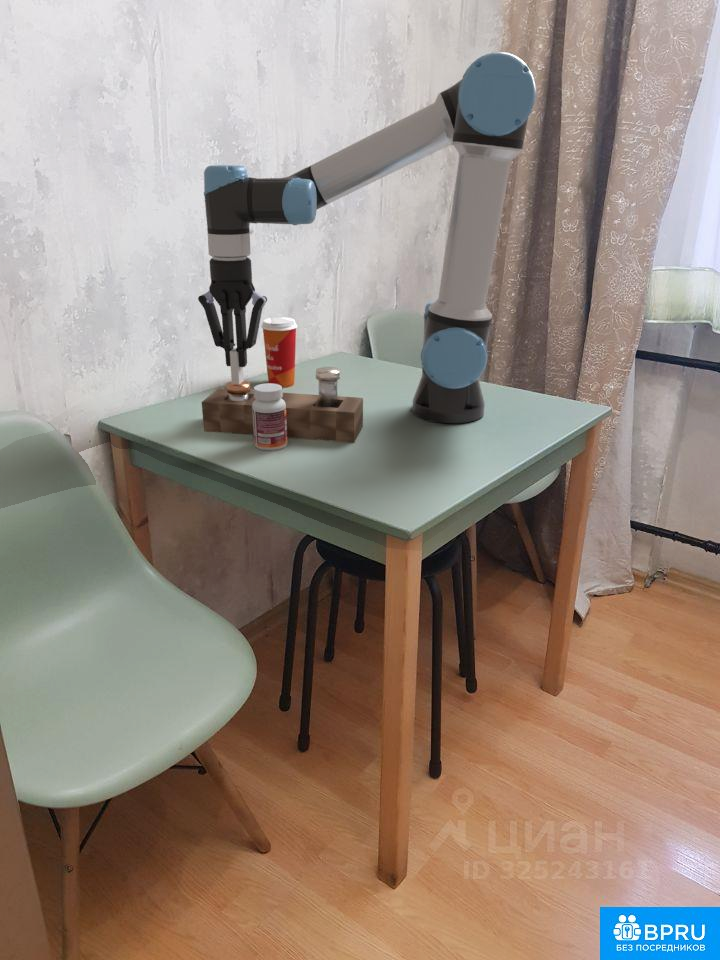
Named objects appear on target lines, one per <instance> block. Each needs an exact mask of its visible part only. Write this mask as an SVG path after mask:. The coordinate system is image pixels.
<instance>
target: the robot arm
mask: <svg viewBox="0 0 720 960" xmlns="http://www.w3.org/2000/svg"><path fill="white" fill-rule="evenodd" d="M536 91H537V90H536V83H535V79H534V76H533V73H532V72H531V69H530V68H529V67H528V65H527V64H526V62H524V61H523V60H522V59H521V58H519V56H516V55H514V54H511V53H509V52H503V51H501V52H491V53H486V54H484V55H481V56H480V57H478V58H476V59H475V60H474V61H473V62H472V63H471V64H470V65H469V66H468V67H467V69H466V70H465V72H464V73H463V75H462V79H460V80H459V81H458V82H456V83H455V84H454V85H452V86H451V87H448V88H447V89H445V90H443V91H441V92H438V94H437V96H436V99H435V101H434V102H432V103H431V104H429V105H427V106H425V107H422V108H421V109H420V110H417V111H416V112H413V113H411V114H410V115H407V116H406V117H403V118H400V119H399V120H397V121H395V122H394V123H392V124H390V125H387V126H385V127H384V128H382V129H380V130H378V131H376V132H374V133H371V134H369V135H367V136H365V137H364V138H362V139H360V140H358V141H356V142H354V143H352V144H350V145H348V146H347V147H344V148H342V149H340V150H338V151H337V152H334V153H332V154H331V155H329V156H327V157H325V158H322V159H321V160H319V161H317V162H314V163H312V164H311V165H310V166H307V167H305V168H302V169H301V170H299V171H297V172H295V173H293V174H291V175H288V176H286V177H281V178H279V177H273V178H272V177H271V178H270V177H269V178H261V177H260V178H259V177H258V178H256V177H249V175H248V172H247V168H246V166H244V165H233V164H232V165H229V164H224V165H223V164H222V165H221V164H220V165H219V164H214V165H213V164H211V165H208V166H206V168H205V169H204V172H203V179H204V180H203V182H204V183H203V184H204V186H203V190H204V192H203V196H204V206H205V215H206V216H205V217H206V228H207V229H206V230H207V244H208V246H207V247H208V255H209V256H210V257H212V258H210V260H209V261H208V263H209V273H210V274H209V275H210V281H211V282H210V285H209V287H208V289H209V290H208V291H207V292H205V293H203V294H201V295H199V296H198V298H197V300H198V302H199V303H200V304H201V306H202V307H203V310H204V313H205V316H206V320H207V322H208V326H209V329H210V333H211V337H212V339H213V342H214V345H215V346H216V347H217V348H218V347H220V348H222V349H224V355H225V365H226V366H227V367H230V378H231V381H232V384H235V385H239V384H241V383H242V382H243V381H245V380H244V379H245V378H244V368H245V367H246V366H247V364H248V354H247V350H248V349H251V348H253V347H254V346H256V343H257V340H258V333H259V328H260V324H261V318H262V313H263V309H264V306H265V305H266V303H267V301H268V298H267V296H266V295H265V296H264V295H263V296H262V295H261V294H259V293H258V292H256V288H255V285H254V284H253V273H252V269H253V268H252V260H251V258H250V257H249V256H250V255H251V253H252V250H251V235H250V234H251V233H250V231H251V230H250V224H275V225H292V226H298V225H310V224H313V223H314V221H315V220H316V216H317V210H319V209H321V208H323V207H325V206H327V205H328V204H331V203H333V202H335V201H337V200H339V199H342V198H343V197H345V196H348V195H349V194H351V193H353V192H355V191H357V190H359V189H362V188H364V187H366V186H368V185H370V184H372V183H374V182H376V181H378V180H380V179H382V178H385V177H387V176H389V175H392V173H395V172H396V171H399V170H401V169H403V168H405V167H407V166H409V165H412V164H414V163H416V162H418V161H420V160H422V159H424V158H426V157H428V156H429V155H432V154H434V153H436V152H437V151H441V150H442V149H444V148H447V147H449V146H453V147H454V148H455V150H456V151H457V153H458V155H459V157H458V164H457V171H456V177H455V182H454V183H455V184H454V190H453V197H452V204H451V210H450V212H451V213H450V217H449V218H450V219H449V223H448V225H449V226H448V232H447V238H446V246H445V252H444V258H443V265H442V270H441V271H442V272H441V279H440V284H439V285H440V286H439V292H438V298H437V299H436V300H435V301H429V302H428V303H427V304H426V305H425V307H424V313H423V318H424V323H423V340H422V348H421V352H420V360H421V365H422V369H421V370H422V371H421V377H420V379H419V383H418V385H417V386H416V387H417V388H416V390H415V393H414V396H413V399H412V403H411V404H412V405H411V406H412V407H411V411H412V414H414V416H416V417H418V418H420V419H423V420H425V421H431V422H435V423H440V424H441V423H442V424H463V423H464V424H465V423H470V422H473V421H477V420H480V419H481V418H482V417H484V415H485V406H486V405H485V399H484V395H483V391H482V388H481V384H480V380H479V378H481V376H482V375H483V373H484V371H485V369H486V366H487V363H488V359H489V356H488V341H489V338H490V331H491V330H490V329H491V325H492V318H493V314H492V312H490V309H489V308H488V307H487V304H486V303H487V299H488V292H489V287H490V283H491V276H492V271H493V265H494V260H495V259H494V258H495V255H496V254H495V252H496V248H497V243H498V237H499V236H498V235H499V231H500V225H501V219H502V213H503V209H504V208H503V207H504V202H505V197H506V192H507V191H506V190H507V185H508V179H509V174H510V169H511V168H510V167H511V162H512V161H513V160H514V159H515V158H516V157H518V156H519V154H520V153H522V152H523V148H524V141H525V136H526V131H527V128H528V127H527V125H528V122H529V121H528V120H529V117H530V115H531V113H532V110H533V108H534V105H535V102H536V93H537V92H536ZM251 300H252V302H251V304H252V306H253V307H252V310H251V313H250V314H251V315H250V320H249V324H248V325H249V326H248V331H247V321H246V313H247V312H246V311H247V306H248V303H249V302H250V301H251ZM214 302H216V303H217V304H218V306H219V307H220V315H221V320H222V321H221V322H222V326H221V322H220V319H219V315H218V311H217V309H216V306H215V303H214ZM233 315H234V318H233ZM233 320H234V321H233ZM234 322H235V323H234ZM234 324H235V334H234ZM234 335H235V336H234ZM234 337H236V339H235V338H234ZM235 340H236V343H235ZM235 346H236V347H235Z"/></svg>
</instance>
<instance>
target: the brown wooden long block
mask: <svg viewBox="0 0 720 960" xmlns="http://www.w3.org/2000/svg"><path fill="white" fill-rule="evenodd" d="M282 393H283V397H282V398H281V399H283V400H284V401H285V403H286V419H287V439H288V438H290V439H300V440H301V439H302V440H315V441H329V442H342V443H351V444H352V443H355V442H356V440H357V438H358V437H359V435H360V433H361V430H362V429H363V427H364V397H354V396H341V395H338V406H337V407H335V408H331V407H319V394H312V393H311V394H310V393H309V394H308V393H297V392H296V393H295V392H294V393H293V392H282ZM255 400H256V399H255V398H254V390H251V391H250V392H249V393H248V401H247V402H244V401H230V394H229V393H227V388H219V387H218V388H217V389H216V390H214V391H213V392H212V393H210V394H209V395H208V396H207V397H206V398H205V399H203V400H202V401H201V411H202V413H201V414H202V422H203V431H204V432H211V433H222V434H223V433H224V434H236V435H248V436H249V435H251V436H254V429H253V413H252V404H253V402H254V401H255Z"/></svg>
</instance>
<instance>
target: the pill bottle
mask: <svg viewBox="0 0 720 960" xmlns="http://www.w3.org/2000/svg"><path fill="white" fill-rule="evenodd" d="M253 391H254V398H255V399H256V400H255V401H254V402H253V404H252V413H253V429H254V435H253V442H254V447H256V448H257V449H258V450H261V451H278V450H281V449H285V447H286V446H287V445H288V438H287V419H286V403H285V401H284V400H283V399H281V398H282V397H283V393H284V392H283V388H282V386H281V385H278V384H272V383H269V382H268V383H261V384H256V385H255V386H253Z"/></svg>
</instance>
